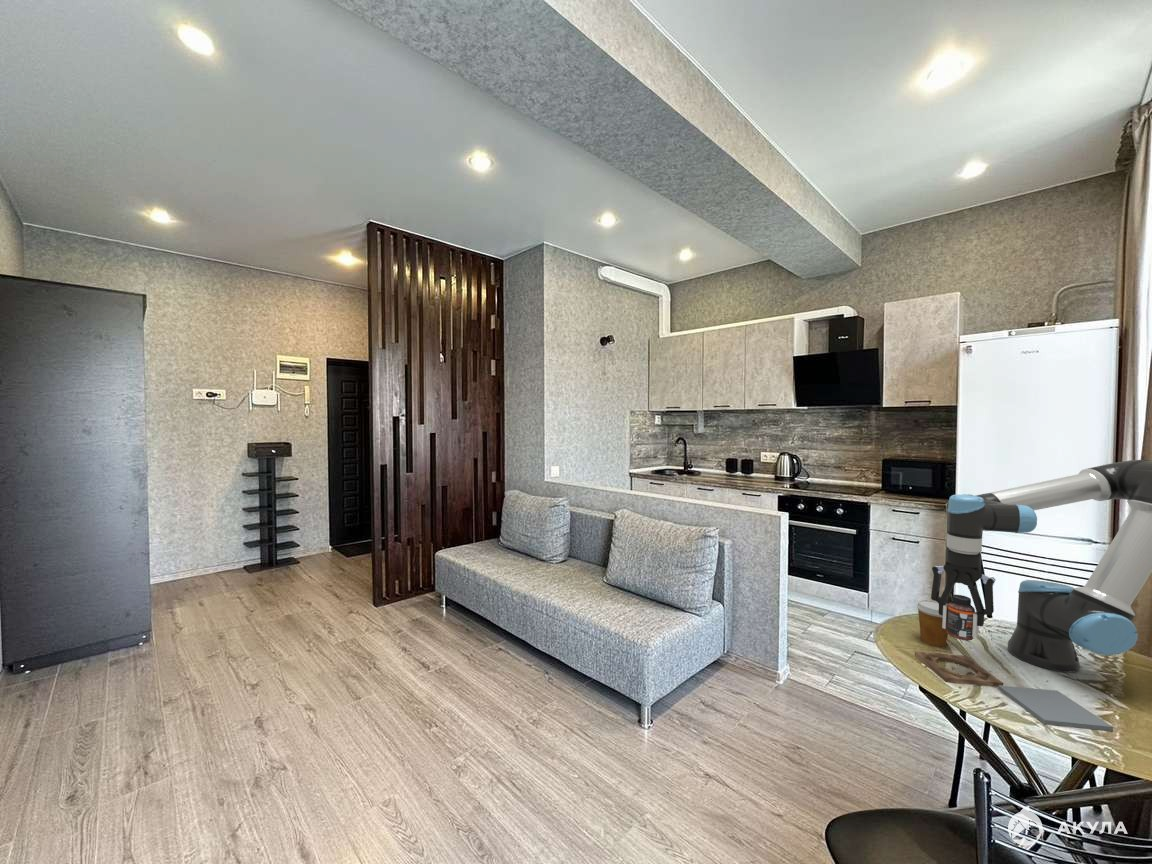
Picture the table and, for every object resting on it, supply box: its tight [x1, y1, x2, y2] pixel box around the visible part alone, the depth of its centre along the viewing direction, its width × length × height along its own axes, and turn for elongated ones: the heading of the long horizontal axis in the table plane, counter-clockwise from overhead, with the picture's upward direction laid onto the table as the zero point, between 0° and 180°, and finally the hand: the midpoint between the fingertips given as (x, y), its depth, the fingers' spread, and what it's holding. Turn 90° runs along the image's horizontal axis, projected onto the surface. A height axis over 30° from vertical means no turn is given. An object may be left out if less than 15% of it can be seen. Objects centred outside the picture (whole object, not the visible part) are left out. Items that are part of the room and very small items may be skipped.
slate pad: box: [997, 685, 1114, 732], centre depth 113 cm, size 14×14×1 cm
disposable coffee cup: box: [915, 599, 949, 648], centre depth 146 cm, size 10×10×12 cm
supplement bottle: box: [946, 594, 976, 642], centre depth 129 cm, size 6×6×11 cm
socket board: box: [914, 651, 1004, 688], centre depth 130 cm, size 14×14×1 cm
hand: (960, 631), depth 129 cm, fingers closed on supplement bottle, 6 cm apart
